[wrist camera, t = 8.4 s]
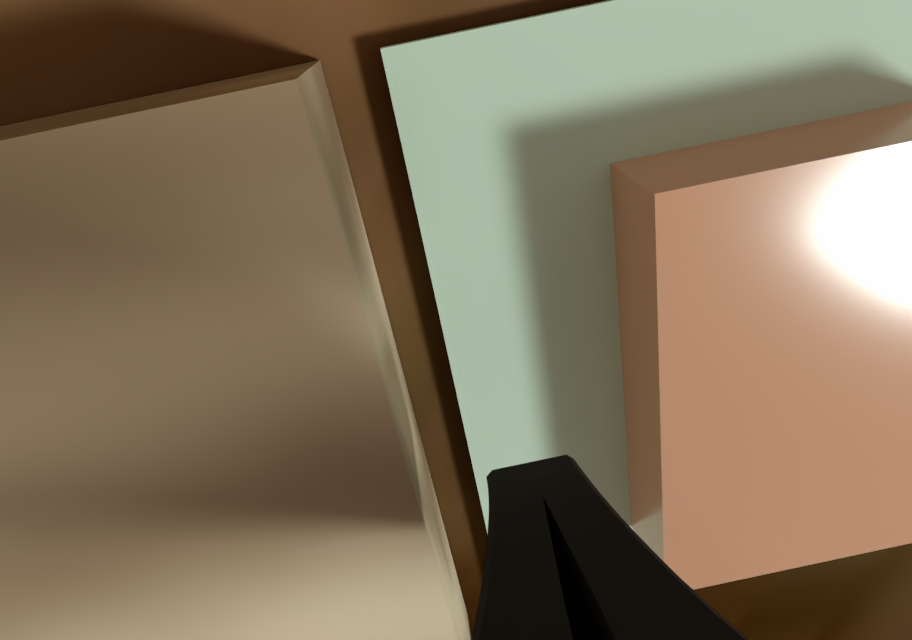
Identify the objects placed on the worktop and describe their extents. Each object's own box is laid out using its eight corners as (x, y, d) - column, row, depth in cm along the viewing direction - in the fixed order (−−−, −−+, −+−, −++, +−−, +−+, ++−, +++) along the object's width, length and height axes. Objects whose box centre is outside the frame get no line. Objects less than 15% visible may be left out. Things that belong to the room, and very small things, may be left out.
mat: (865, 528, 16) (875, 539, 16) (503, 606, 16) (506, 620, 16) (978, -77, 10) (1001, -81, 10) (380, 47, 10) (380, 48, 10)
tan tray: (467, 614, 16) (483, 731, 14) (28, 709, 16) (-42, 846, 14) (320, 59, 10) (296, 79, 7) (-414, 212, 10) (-713, 288, 7)
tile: (664, 595, 13) (631, 526, 15) (934, 538, 13) (869, 475, 15) (654, 193, 9) (610, 163, 11) (1049, 112, 9) (940, 95, 11)
